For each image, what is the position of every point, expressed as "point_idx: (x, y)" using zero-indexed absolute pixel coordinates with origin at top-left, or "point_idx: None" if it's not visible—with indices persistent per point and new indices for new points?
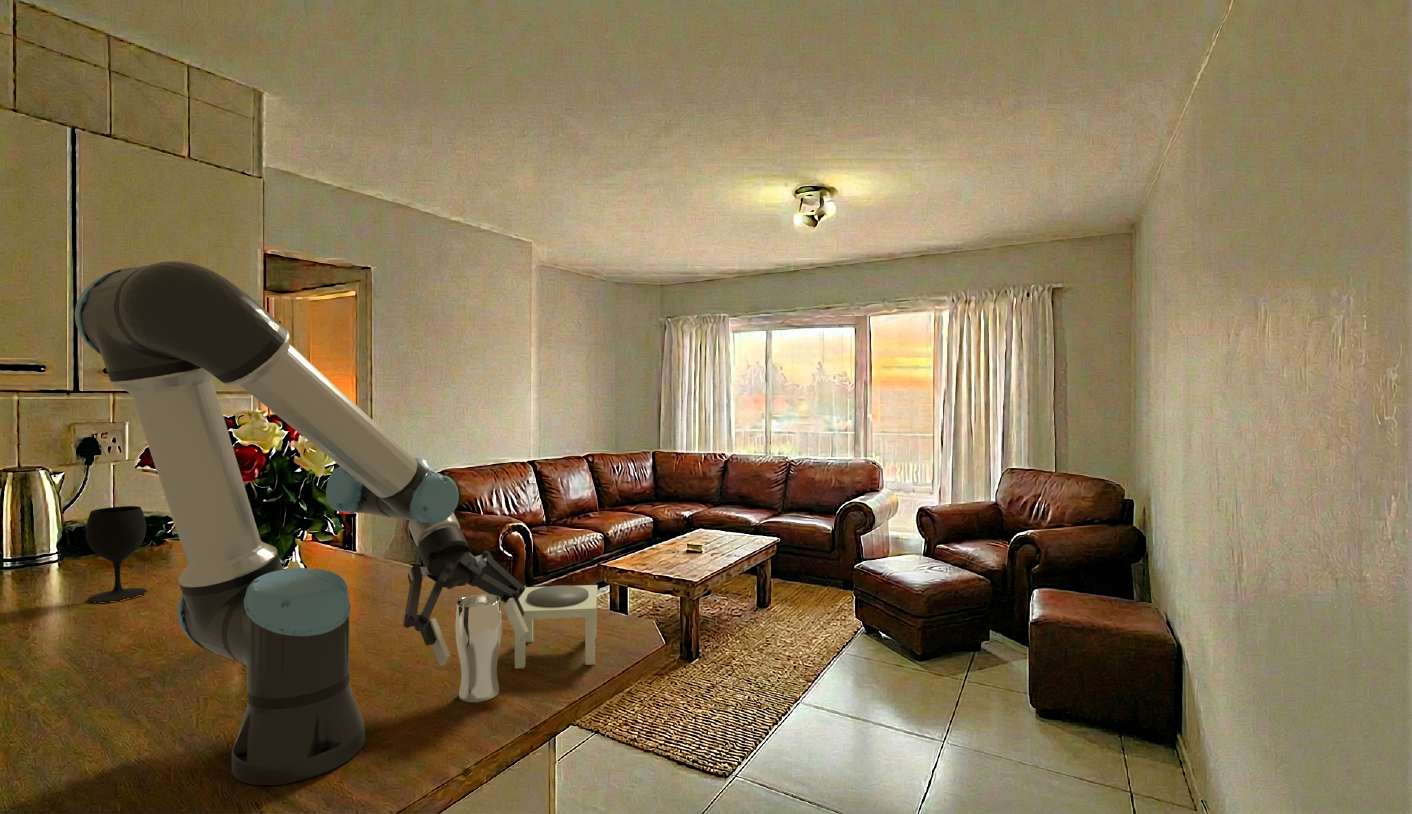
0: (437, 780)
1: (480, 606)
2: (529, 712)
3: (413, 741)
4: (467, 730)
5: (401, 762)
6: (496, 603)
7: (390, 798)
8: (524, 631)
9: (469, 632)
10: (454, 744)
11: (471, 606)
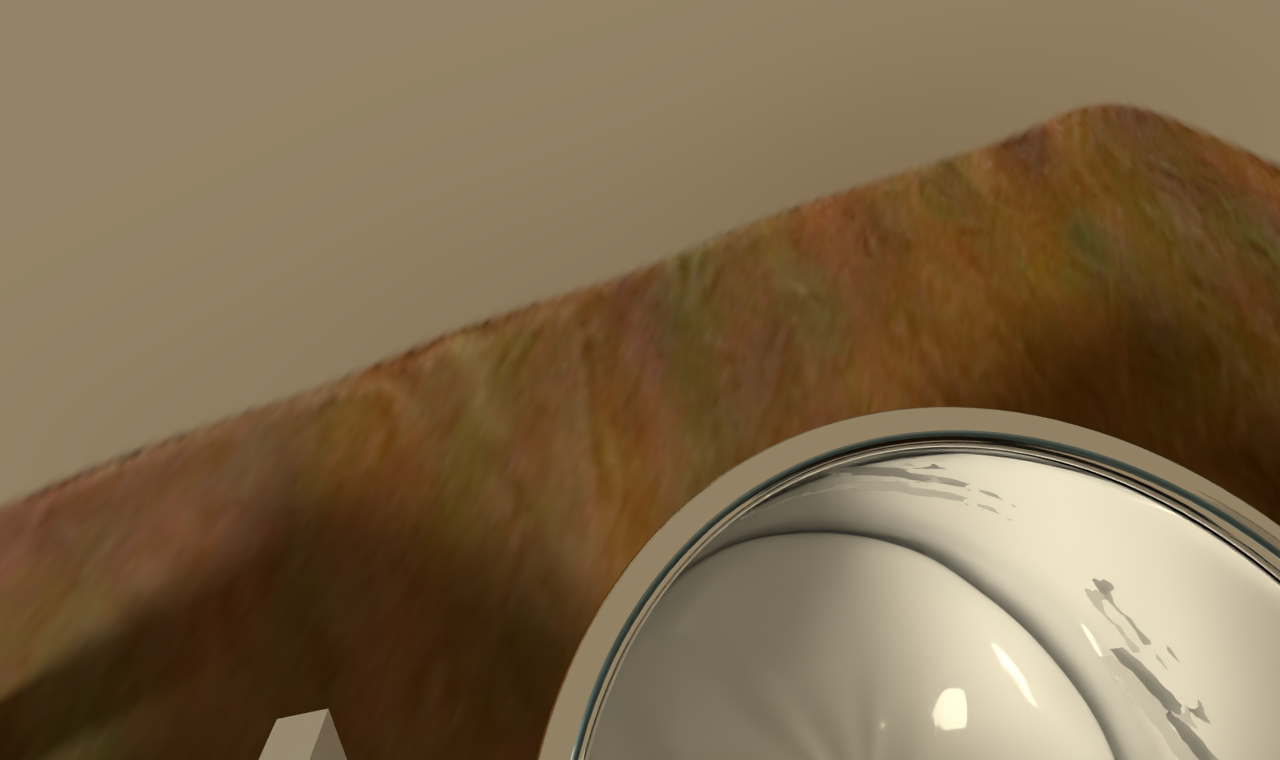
0: (1034, 144)
1: (1052, 419)
2: (596, 383)
3: (1121, 431)
4: (887, 388)
5: (1160, 303)
6: (720, 482)
7: (1178, 135)
8: (325, 722)
9: (1023, 581)
10: (955, 313)
11: (1227, 508)
